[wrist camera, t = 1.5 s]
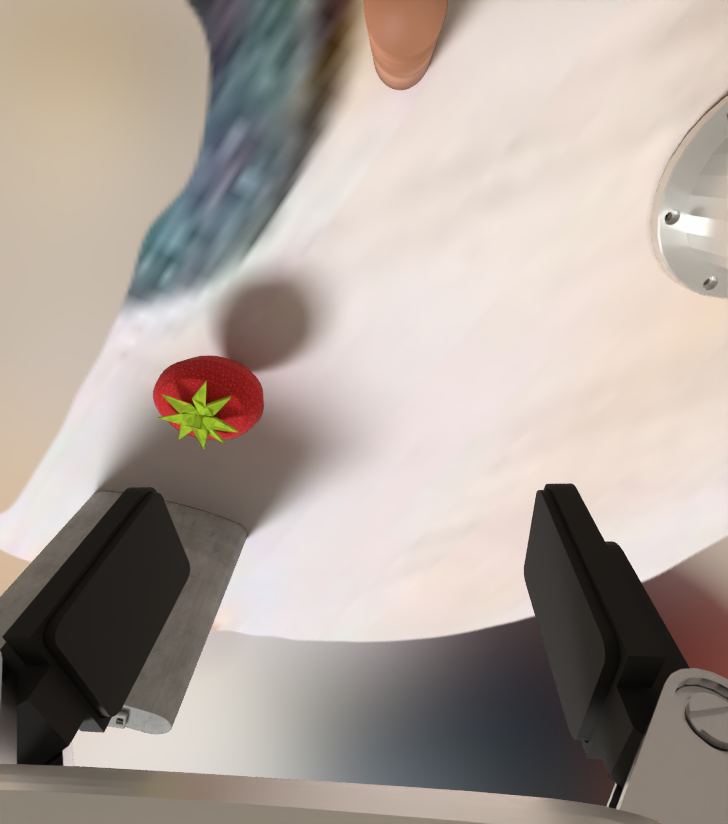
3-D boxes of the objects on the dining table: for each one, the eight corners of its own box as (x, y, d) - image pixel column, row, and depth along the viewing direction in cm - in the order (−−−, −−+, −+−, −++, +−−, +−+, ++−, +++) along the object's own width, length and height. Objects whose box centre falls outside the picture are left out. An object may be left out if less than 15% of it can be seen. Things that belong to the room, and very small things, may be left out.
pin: (425, 8, 23) (440, -71, 15) (434, 80, 25) (453, 42, 17) (367, 28, 24) (354, -39, 16) (380, 97, 25) (374, 67, 17)
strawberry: (186, 325, 33) (113, 382, 24) (282, 340, 33) (243, 403, 25) (190, 391, 36) (126, 463, 27) (279, 405, 36) (243, 481, 28)
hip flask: (92, 510, 44) (-102, 734, 27) (90, 481, 42) (-122, 703, 25) (245, 546, 45) (153, 782, 28) (250, 519, 43) (154, 756, 26)
